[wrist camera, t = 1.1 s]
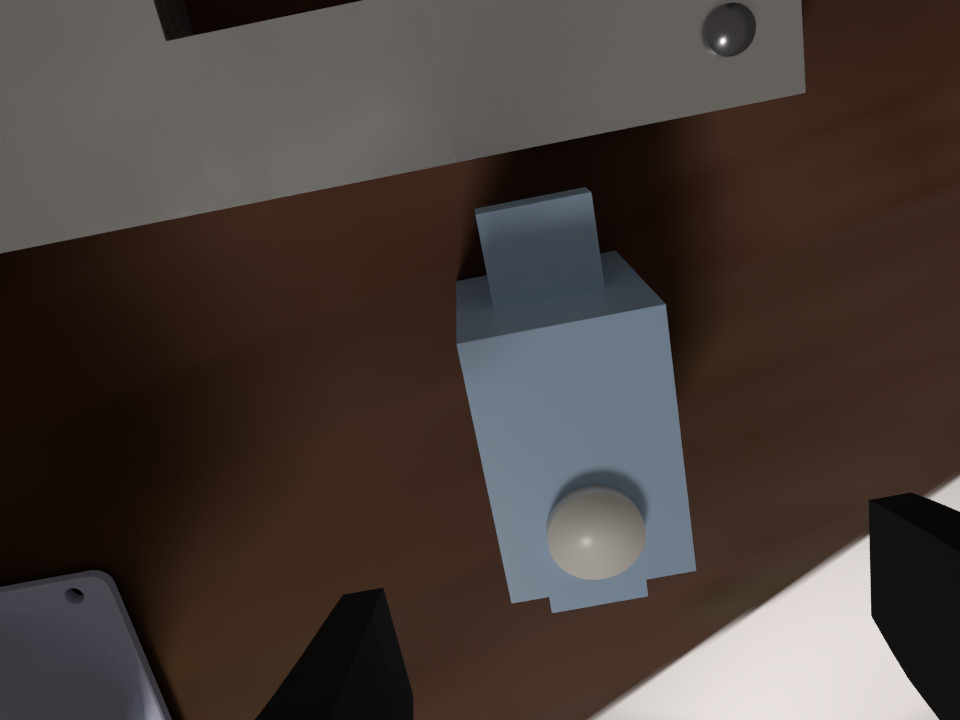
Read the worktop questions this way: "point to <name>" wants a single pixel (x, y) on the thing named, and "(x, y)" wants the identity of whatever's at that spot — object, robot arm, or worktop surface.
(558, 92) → the plate
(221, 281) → the worktop surface
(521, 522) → the servo
